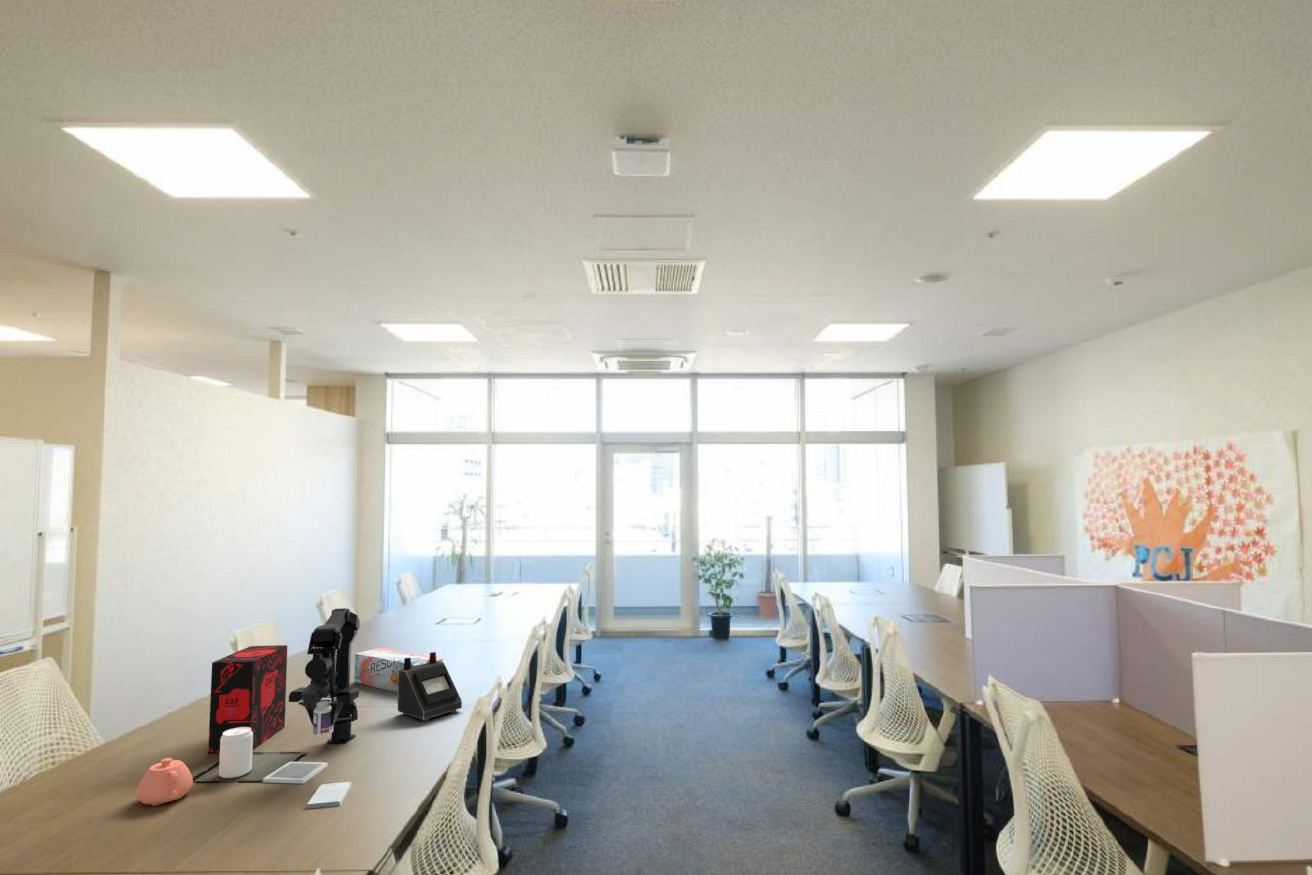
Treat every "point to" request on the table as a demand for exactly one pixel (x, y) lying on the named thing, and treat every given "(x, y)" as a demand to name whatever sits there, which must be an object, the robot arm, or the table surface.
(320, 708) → the pill bottle
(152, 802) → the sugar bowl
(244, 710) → the box
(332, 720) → the robot arm
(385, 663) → the soda box
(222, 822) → the table surface
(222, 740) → the beverage can
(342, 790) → the hard drive
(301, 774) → the base slab
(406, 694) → the voltmeter
